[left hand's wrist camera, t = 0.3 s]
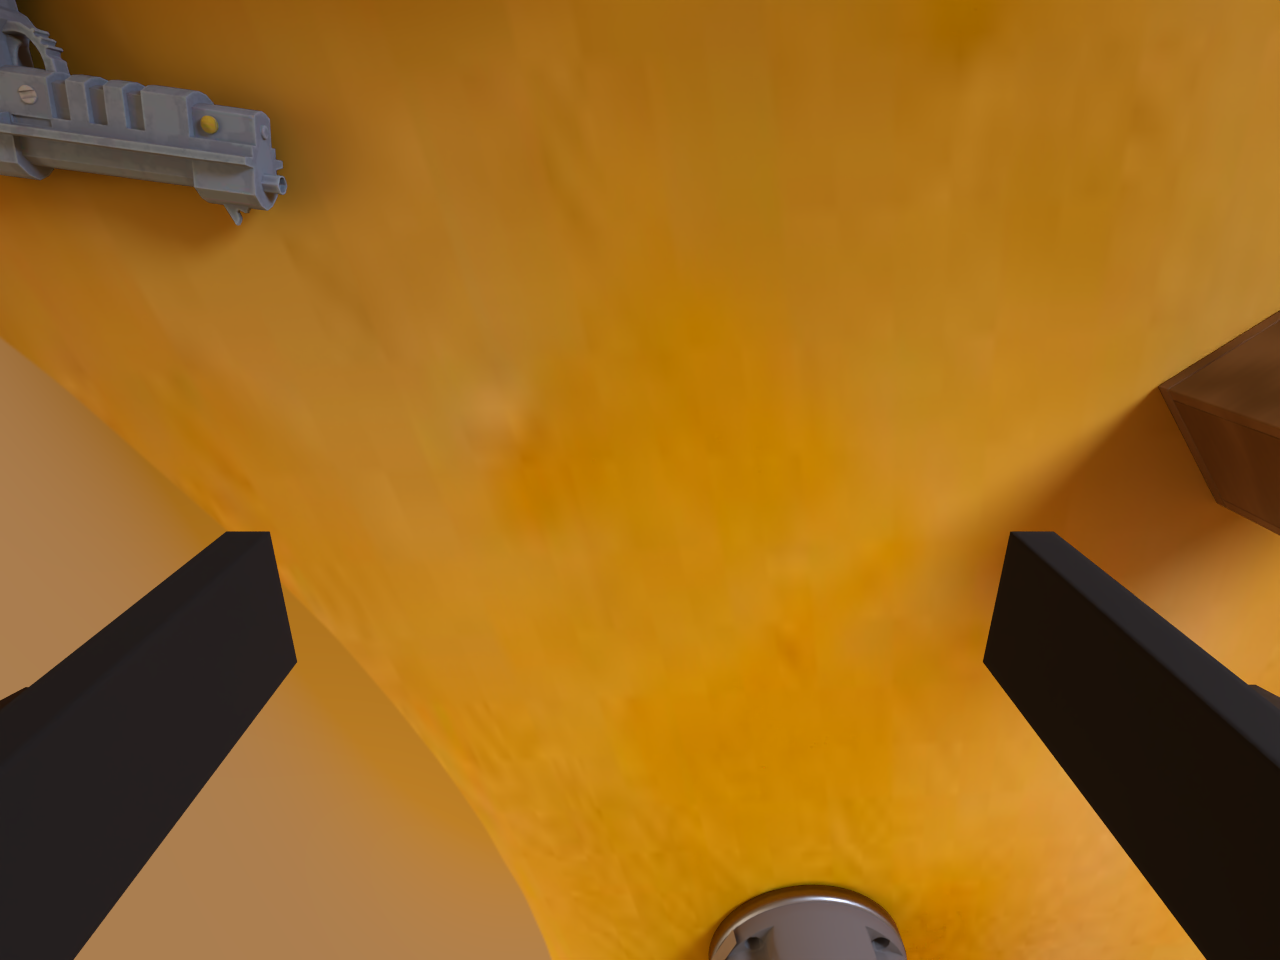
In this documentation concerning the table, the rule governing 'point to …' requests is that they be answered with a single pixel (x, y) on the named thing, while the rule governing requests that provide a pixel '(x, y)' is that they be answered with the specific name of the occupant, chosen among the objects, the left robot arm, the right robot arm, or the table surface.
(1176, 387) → the chest
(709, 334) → the table surface
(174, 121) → the toy gun
